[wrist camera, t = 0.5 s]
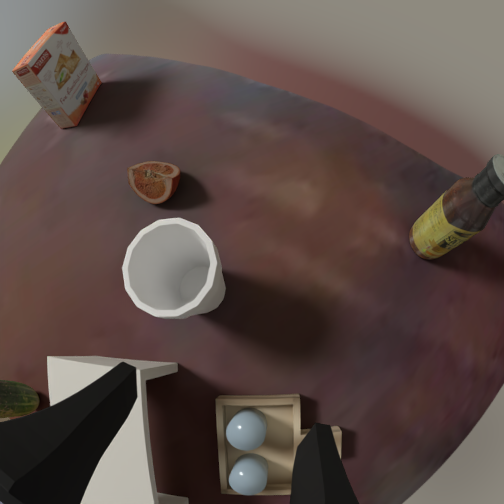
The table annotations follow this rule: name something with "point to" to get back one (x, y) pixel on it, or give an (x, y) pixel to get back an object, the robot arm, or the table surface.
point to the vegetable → (16, 399)
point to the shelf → (128, 437)
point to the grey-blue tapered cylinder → (247, 429)
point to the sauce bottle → (459, 212)
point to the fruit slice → (154, 180)
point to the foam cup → (173, 270)
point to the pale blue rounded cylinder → (249, 474)
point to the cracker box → (59, 75)
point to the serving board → (276, 439)
